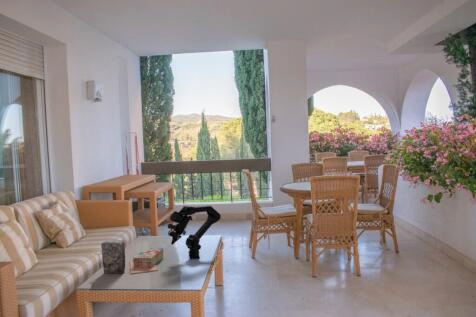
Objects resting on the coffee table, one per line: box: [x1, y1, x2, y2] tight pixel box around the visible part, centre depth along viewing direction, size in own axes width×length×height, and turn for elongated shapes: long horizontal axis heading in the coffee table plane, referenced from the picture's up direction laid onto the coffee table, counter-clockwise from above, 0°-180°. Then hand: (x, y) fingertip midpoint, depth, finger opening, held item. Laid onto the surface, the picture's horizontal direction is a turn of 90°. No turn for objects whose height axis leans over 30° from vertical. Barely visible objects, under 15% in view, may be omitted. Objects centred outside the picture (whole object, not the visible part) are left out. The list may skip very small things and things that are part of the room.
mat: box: [129, 259, 158, 275], centre depth 245 cm, size 16×26×1 cm, turn 17°
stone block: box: [101, 239, 126, 275], centre depth 234 cm, size 13×7×20 cm, turn 87°
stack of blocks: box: [132, 247, 164, 268], centre depth 251 cm, size 21×6×12 cm
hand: (171, 244), depth 254 cm, fingers closed
